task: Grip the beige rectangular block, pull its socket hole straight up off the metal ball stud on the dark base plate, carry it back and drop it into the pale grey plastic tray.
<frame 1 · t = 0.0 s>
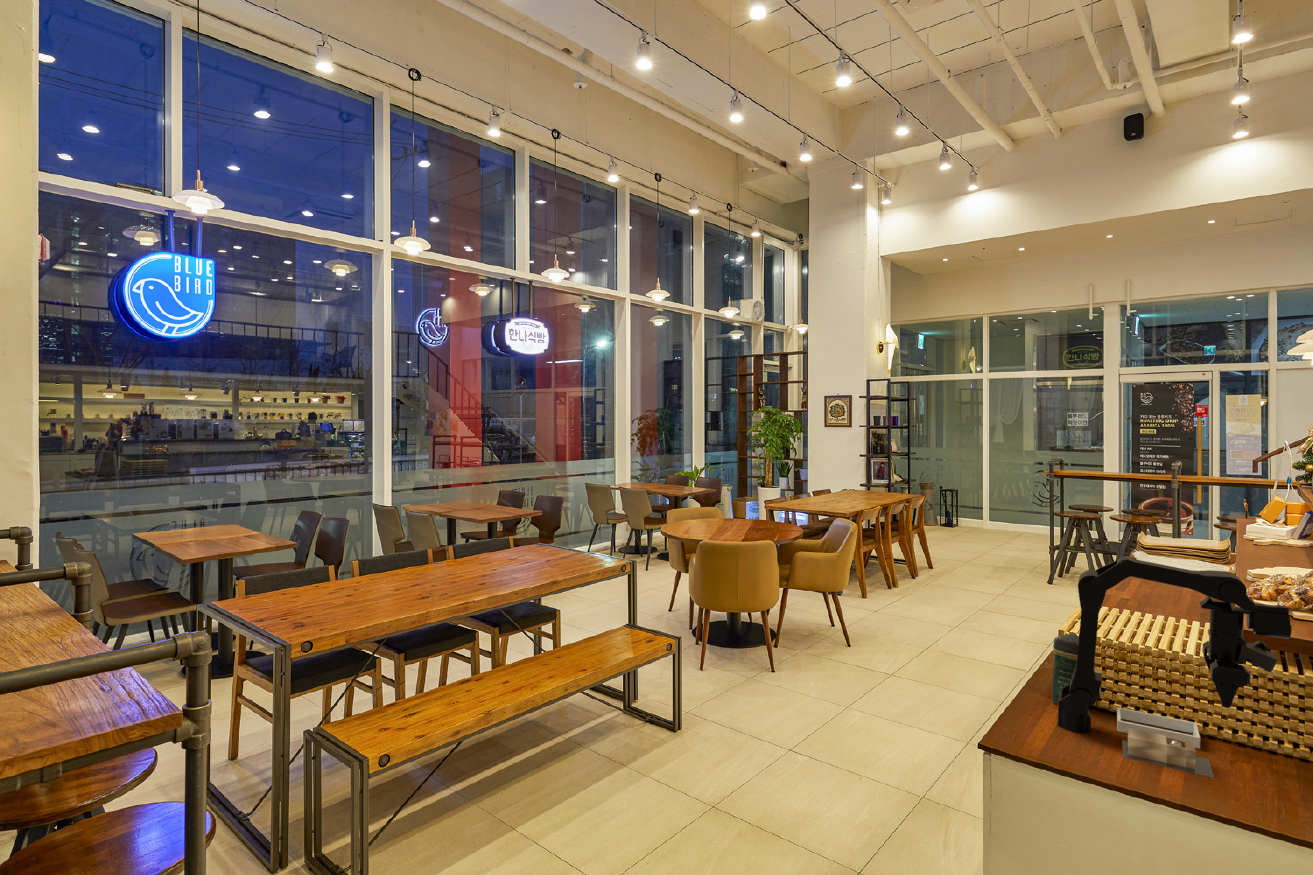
hand: (1223, 699, 151), 15 cm above the table, tool pointing down, fingers open, 9 cm apart
stud base: (1165, 762, 153), on the table
tray: (1156, 735, 164), on the table
coffee jar: (1070, 704, 182), on the table
beige rectangular block: (1160, 756, 153), point 1 cm above the table, touching stud base
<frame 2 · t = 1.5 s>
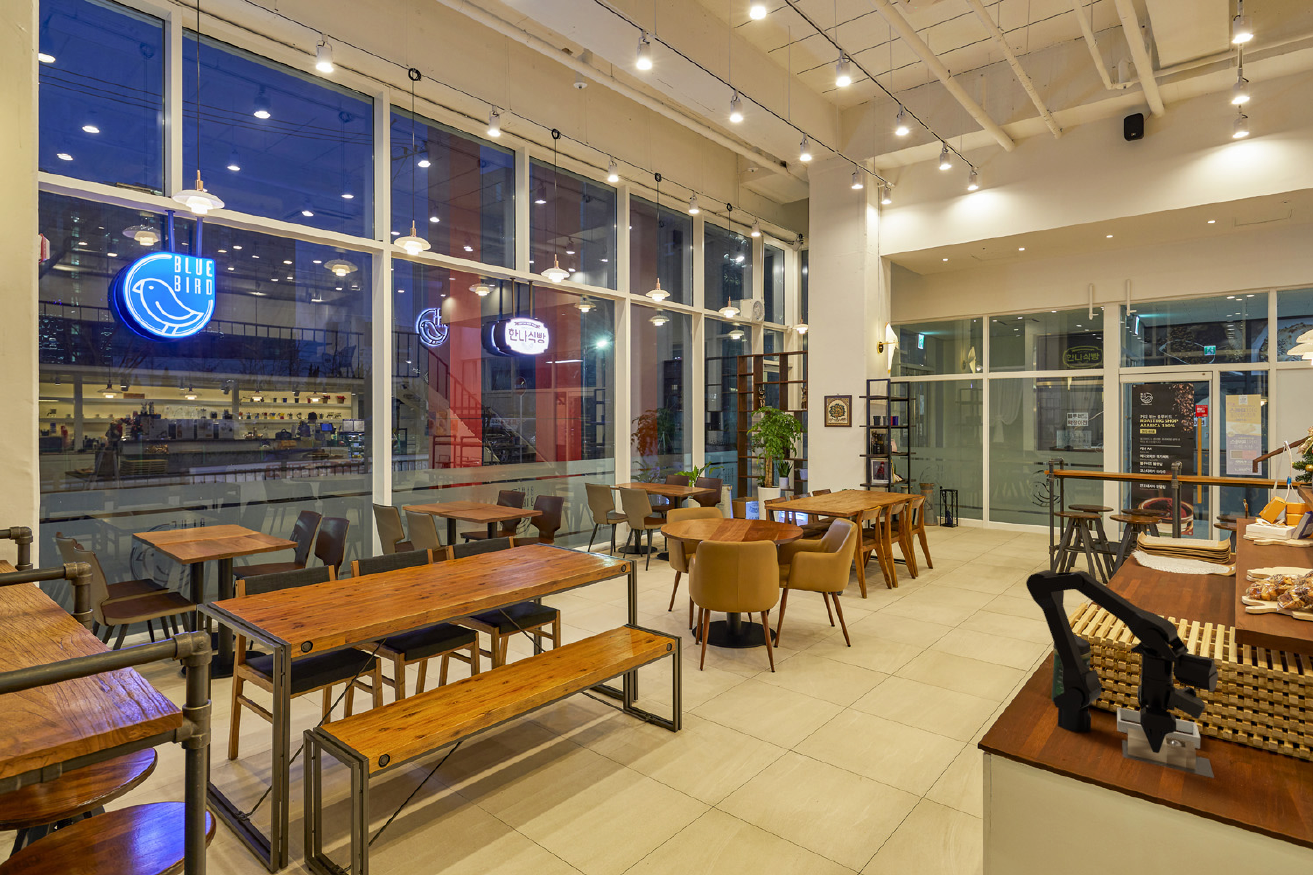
hand: (1154, 743, 154), 4 cm above the table, tool pointing down, fingers open, 9 cm apart
nothing on the table moved.
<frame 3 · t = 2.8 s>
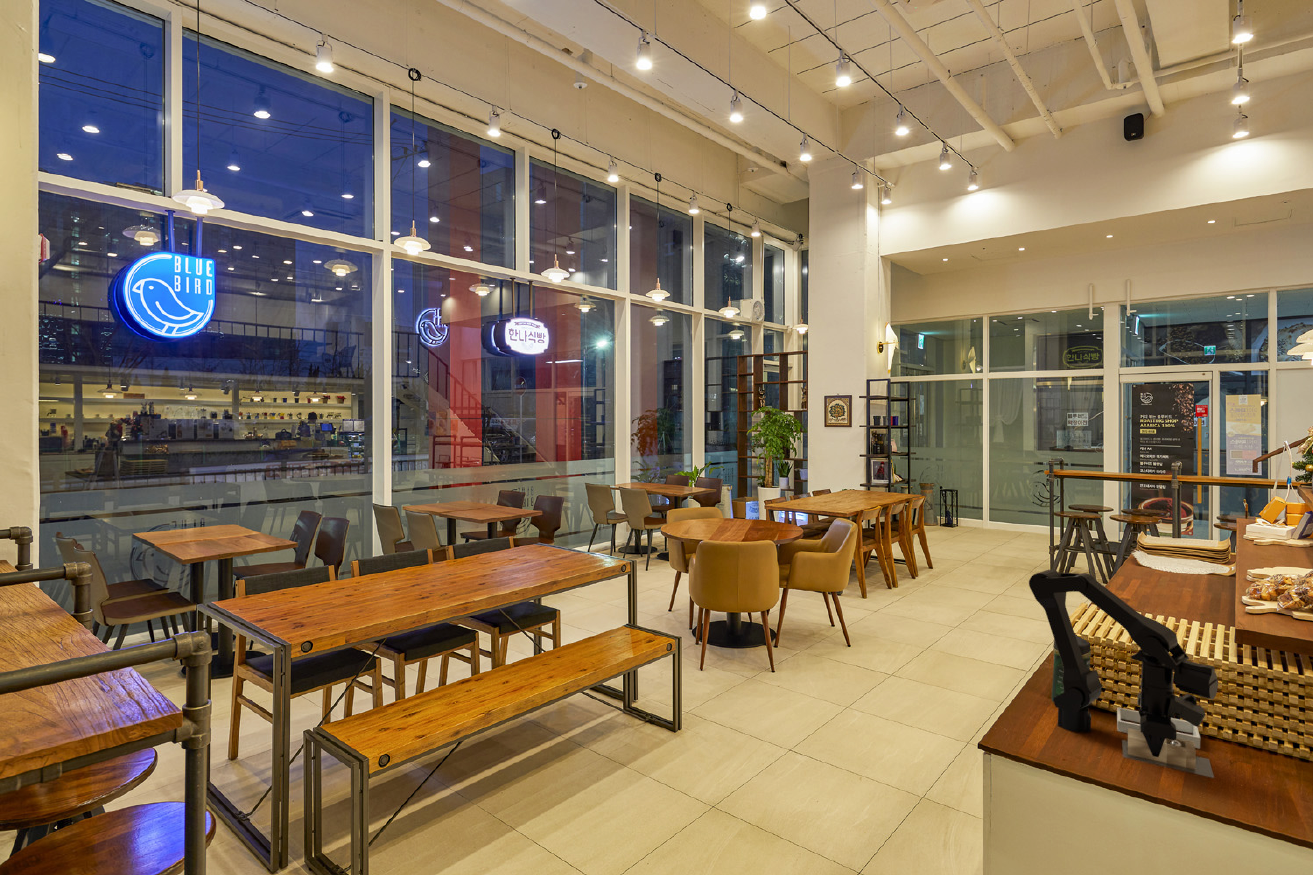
hand: (1154, 750, 154), 2 cm above the table, tool pointing down, fingers closed on beige rectangular block, 5 cm apart
beige rectangular block: (1160, 756, 153), point 1 cm above the table, touching gripper, stud base
everything else where it was.
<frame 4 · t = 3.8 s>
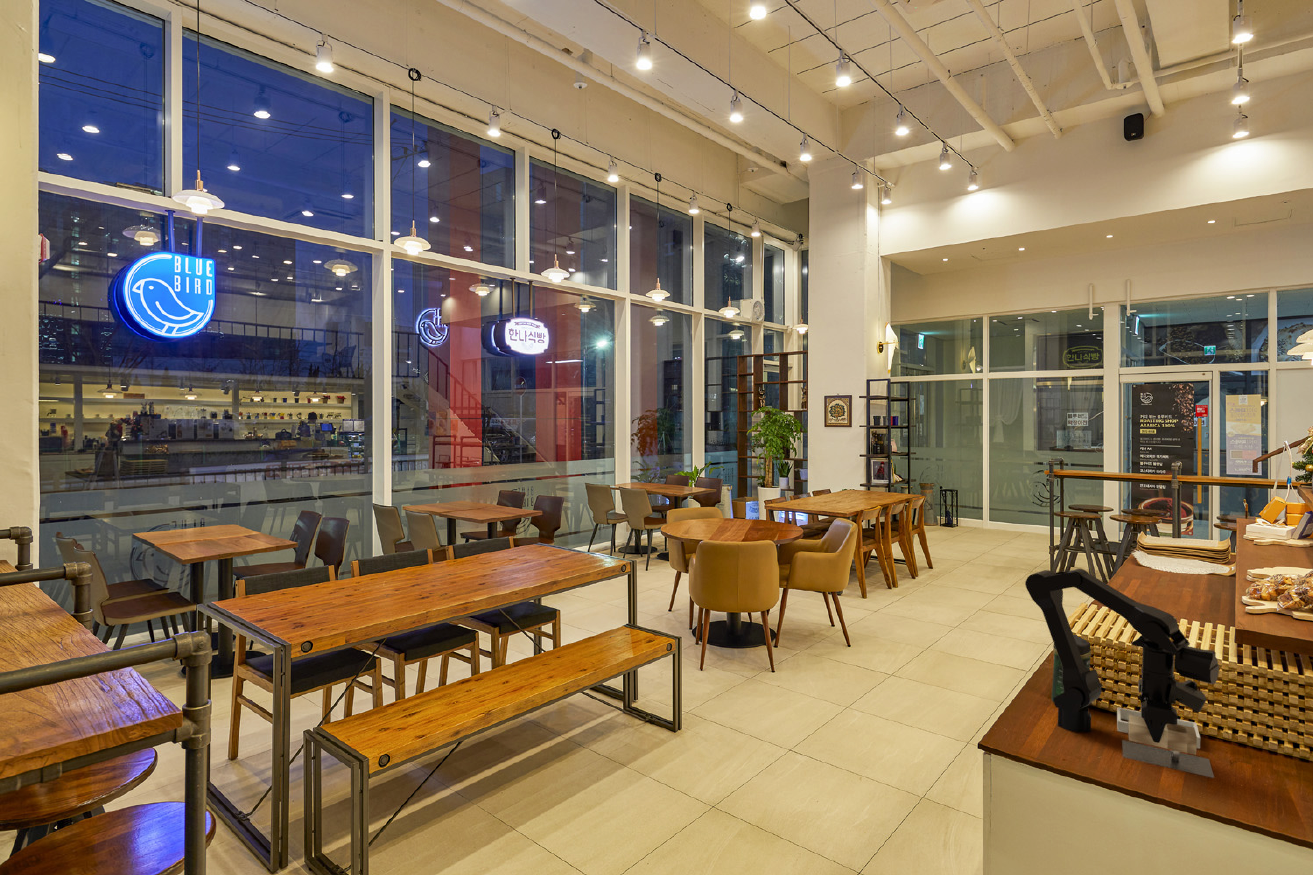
hand: (1155, 736, 153), 5 cm above the table, tool pointing down, fingers closed on beige rectangular block, 5 cm apart
beige rectangular block: (1161, 742, 153), point 4 cm above the table, touching gripper
everything else where it was.
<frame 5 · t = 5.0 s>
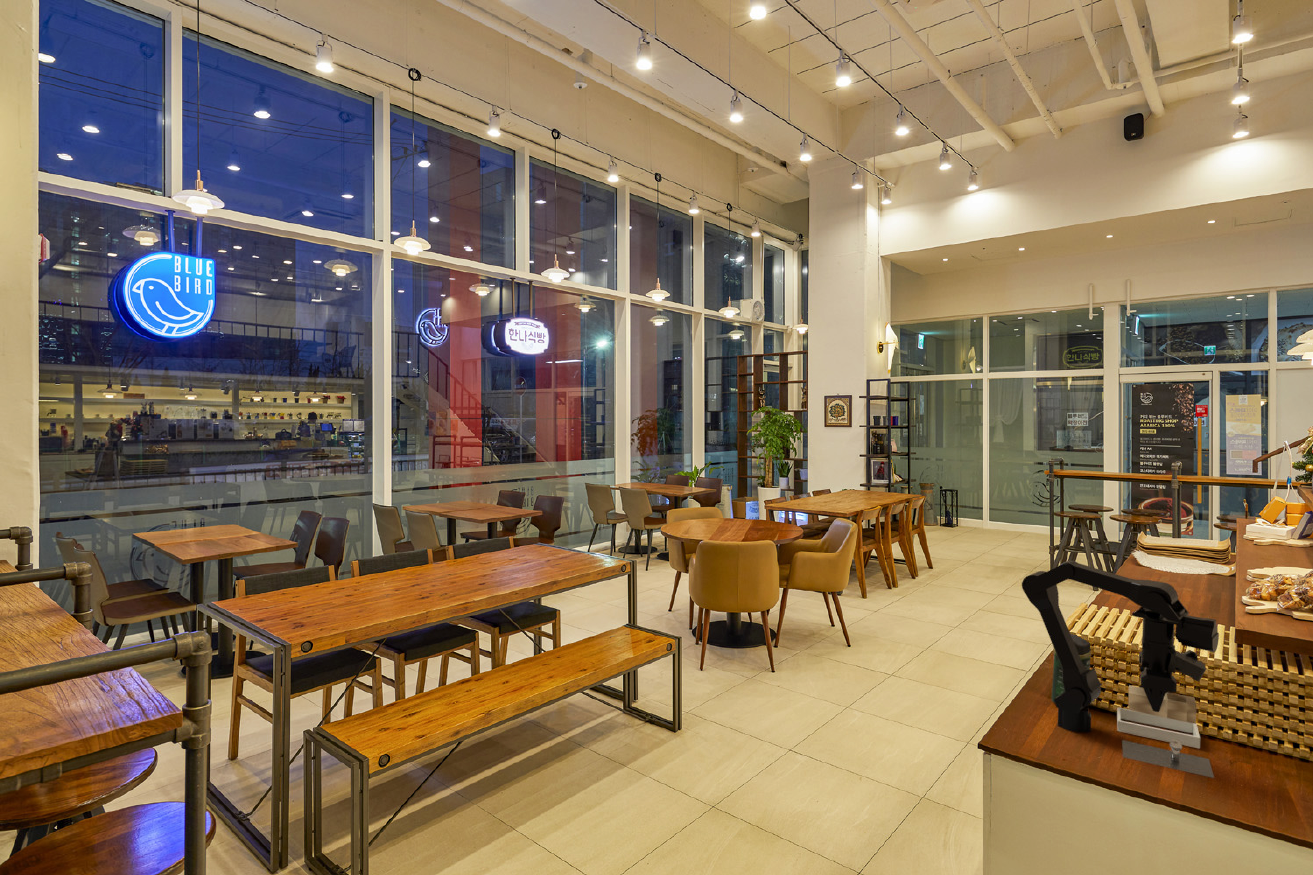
hand: (1155, 706, 154), 12 cm above the table, tool pointing down, fingers closed on beige rectangular block, 5 cm apart
beige rectangular block: (1160, 712, 154), point 11 cm above the table, touching gripper
everything else where it was.
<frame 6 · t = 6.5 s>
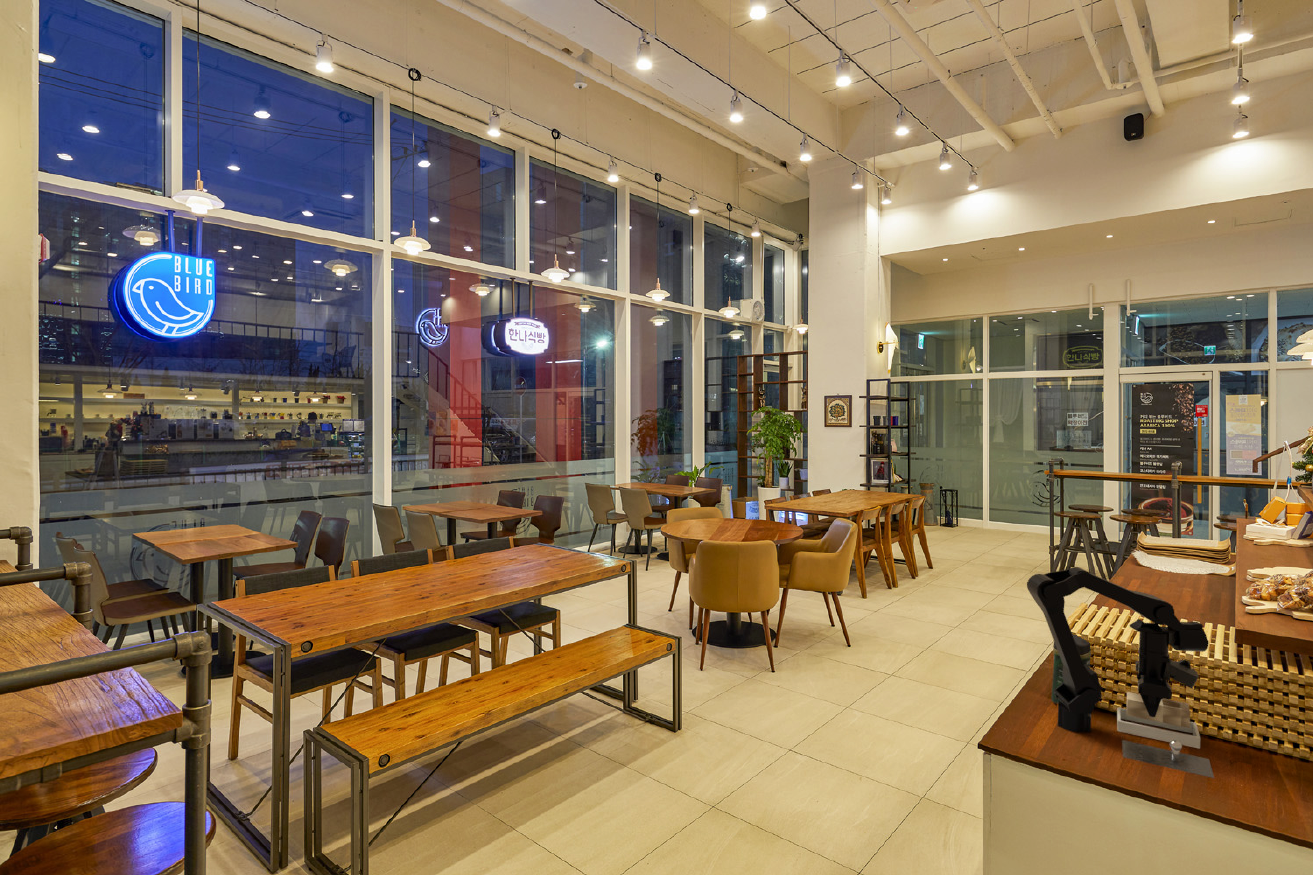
hand: (1151, 712, 165), 6 cm above the table, tool pointing down, fingers closed on beige rectangular block, 5 cm apart
beige rectangular block: (1156, 717, 164), point 5 cm above the table, touching gripper
everything else where it was.
when the fingers open (4 cm above the table, at t = 7.5 s): beige rectangular block drops 3 cm, resting on tray.
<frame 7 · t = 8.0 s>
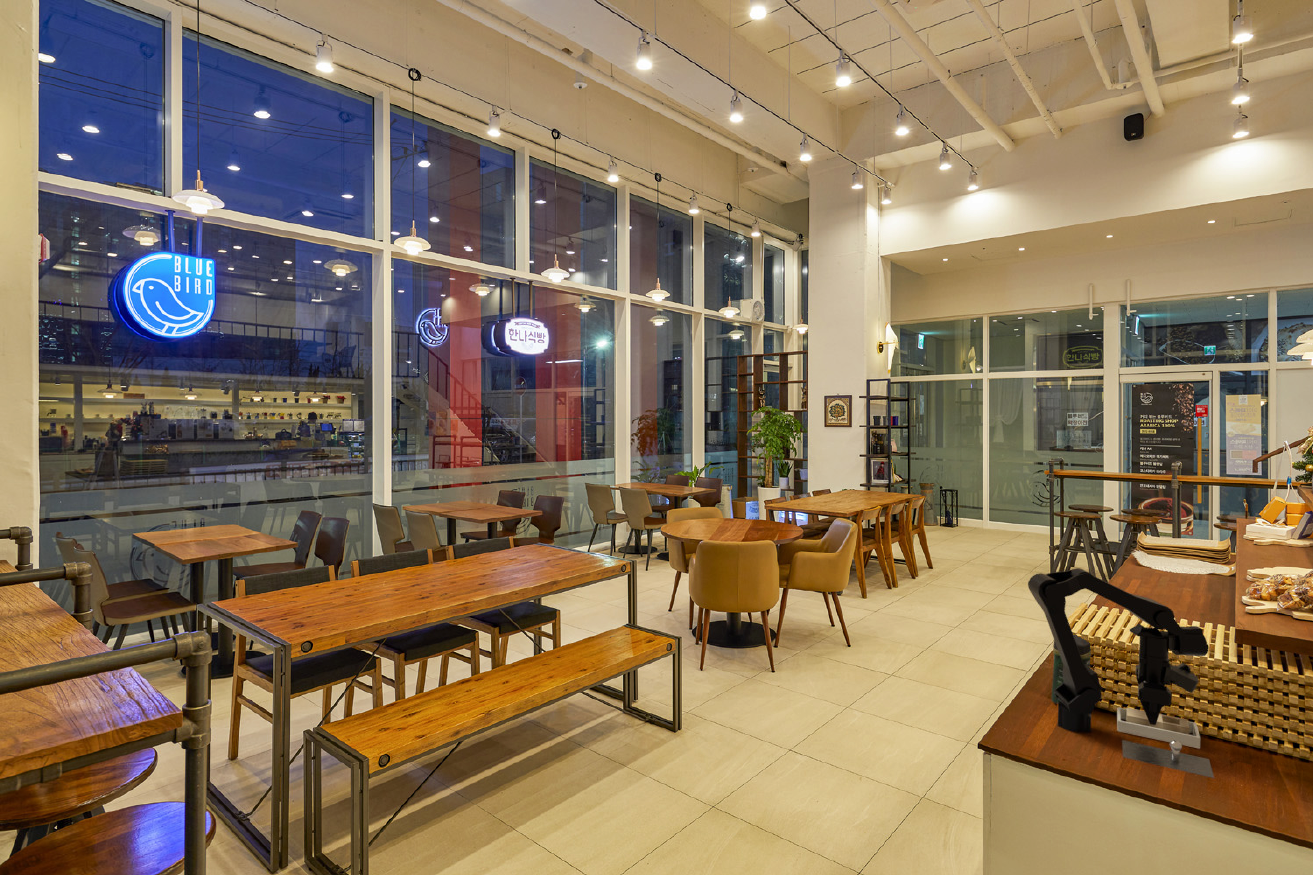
hand: (1151, 716, 165), 4 cm above the table, tool pointing down, fingers open, 9 cm apart
beige rectangular block: (1156, 733, 164), point 1 cm above the table, touching tray
everything else where it was.
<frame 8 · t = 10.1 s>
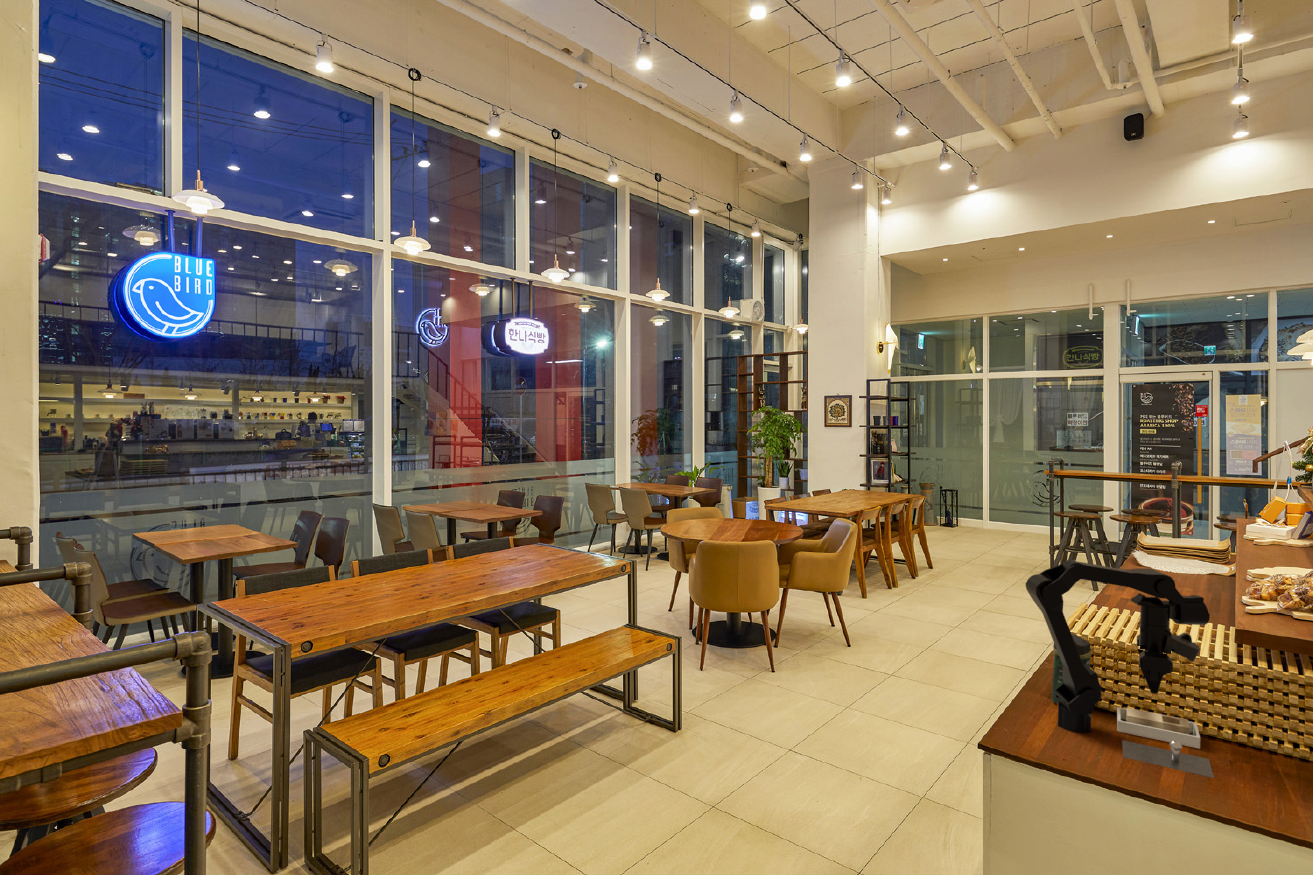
hand: (1152, 686, 164), 12 cm above the table, tool pointing down, fingers open, 9 cm apart
nothing on the table moved.
at the end: beige rectangular block 0.0 cm off-centre on the tray, point 0.6 cm above the tray's base; the gripper is holding nothing; beige rectangular block tilted 0° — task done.
